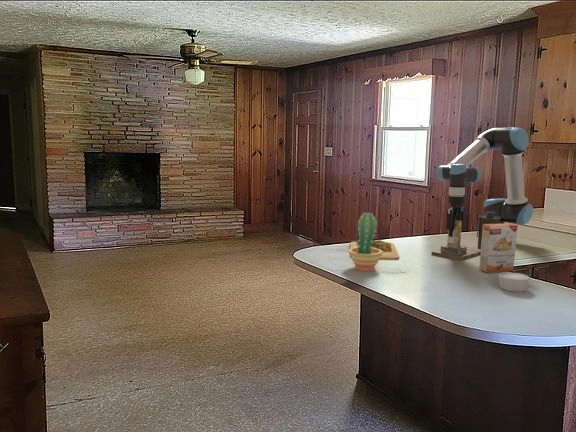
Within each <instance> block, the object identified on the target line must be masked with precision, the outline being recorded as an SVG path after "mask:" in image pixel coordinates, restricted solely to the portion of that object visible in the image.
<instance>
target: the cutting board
mask: <svg viewBox="0 0 576 432" xmlns="http://www.w3.org/2000/svg"><path fill="white" fill-rule="evenodd" d="M358 243H359V239H358V240H356V241H351V242H349V247H350V248H349V249H351V248H356V247H358ZM371 248H376V249H380V250H382V251H383V253H382V255H381V256H380V258H379V260H386V261H387V260H388V261H393V260H394V261H397V260H400V255H399V253H398V250H397V247H396V245H395V243H393V242H388V241H387V242H385V241H383V240H380V239H378V240H374V239H373V243H372V247H371Z"/></svg>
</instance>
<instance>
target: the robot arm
mask: <svg viewBox="0 0 576 432" xmlns="http://www.w3.org/2000/svg"><path fill="white" fill-rule="evenodd" d="M529 140H530V139H529V134H528V132H527V131H526V130H525V129H524V128H522V127H515V126H514V127H513V126H512V127H493V128H490V129H488V130H486V131H484V132H482V133H480V134H479V135H478V136H476V137H475V139H474V140H473V142H472V143H471V144H470V145H469V146H467V148H465V149H464V150H462V152H461V153H459V154H458V155H457V156H456V157H455V158H453V160H451V161H450V162H449V163H448V164H447V165H444V164H443V165H439V166H438V167H437V168H436V173H435V175H436V177H437V179H438V180H440V181H445V182H447V181H449V187H448V195H449V196H448V198H447V199H448V202H447V203H448V204H450V206H449V208H448V209H446V230H447V231H448V230H449V241H448V240H447V242H448V243H453V244H454V236H455V230H454V226H455V220H459V221H462V225H461V230H463V228H464V222H465V219H464V218H465V211H466V208H465V207H463V204H465V199H466V198H465V195H466V184H467V183H468V184H469V183H471V184H472V183H477V182H479V181H480V180H481V179H482V176H483V175H482V171H481V169H480V168H479V167H476V166H470V165H471V164H472V163H473V162H474V161H476V159H478V158H479V157H480V156H481V155H483V154H484V153H485V154H486V153H488V152H489V151H491V150H500V154H501V155H502V156H503V158H504V169H505V181H506V192H507V193H506V195H507V198H504V197H503V198H490V199H489V198H488V199H485V200H484V203H483V204H484V205H483V216H486V212H495V213H496V214H495V213H494V216H497V217H500V218H501V219H500V224H506V223H510V224H514V225H526V224H528V223H529V222H530V221H531V219H532V217H533V213H534V207H533V205H532V204H530V203H529V201H528V198H527V197H525V185H524V183H525V182H524V172H523V170H524V168H523V159H522V158H523V156H522V155H523V154H524V153H525V150H527V148H528V146H529V142H530V141H529ZM469 166H470V167H469Z"/></svg>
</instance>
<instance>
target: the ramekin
mask: <svg viewBox="0 0 576 432" xmlns="http://www.w3.org/2000/svg"><path fill="white" fill-rule="evenodd" d="M498 279H499V286H500V288H501V289H503V290H505V291H509V292H514V293H515V292H518V293H521V292H525V291H526V290H527V288H528V284H529V281H530V276H528V275H527V274H523V273H518V272H499V273H498Z"/></svg>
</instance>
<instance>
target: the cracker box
mask: <svg viewBox="0 0 576 432" xmlns="http://www.w3.org/2000/svg"><path fill="white" fill-rule="evenodd" d="M517 235H518V224H514V223H508V222H505V224H483V229H482V241H481V254H480V255H479V256H480V257H479V267H478V268H479V271H481V272H484V273H490V274H491V273H508V272H514V269H515V258H516V257H515V256H516V247H517Z"/></svg>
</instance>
